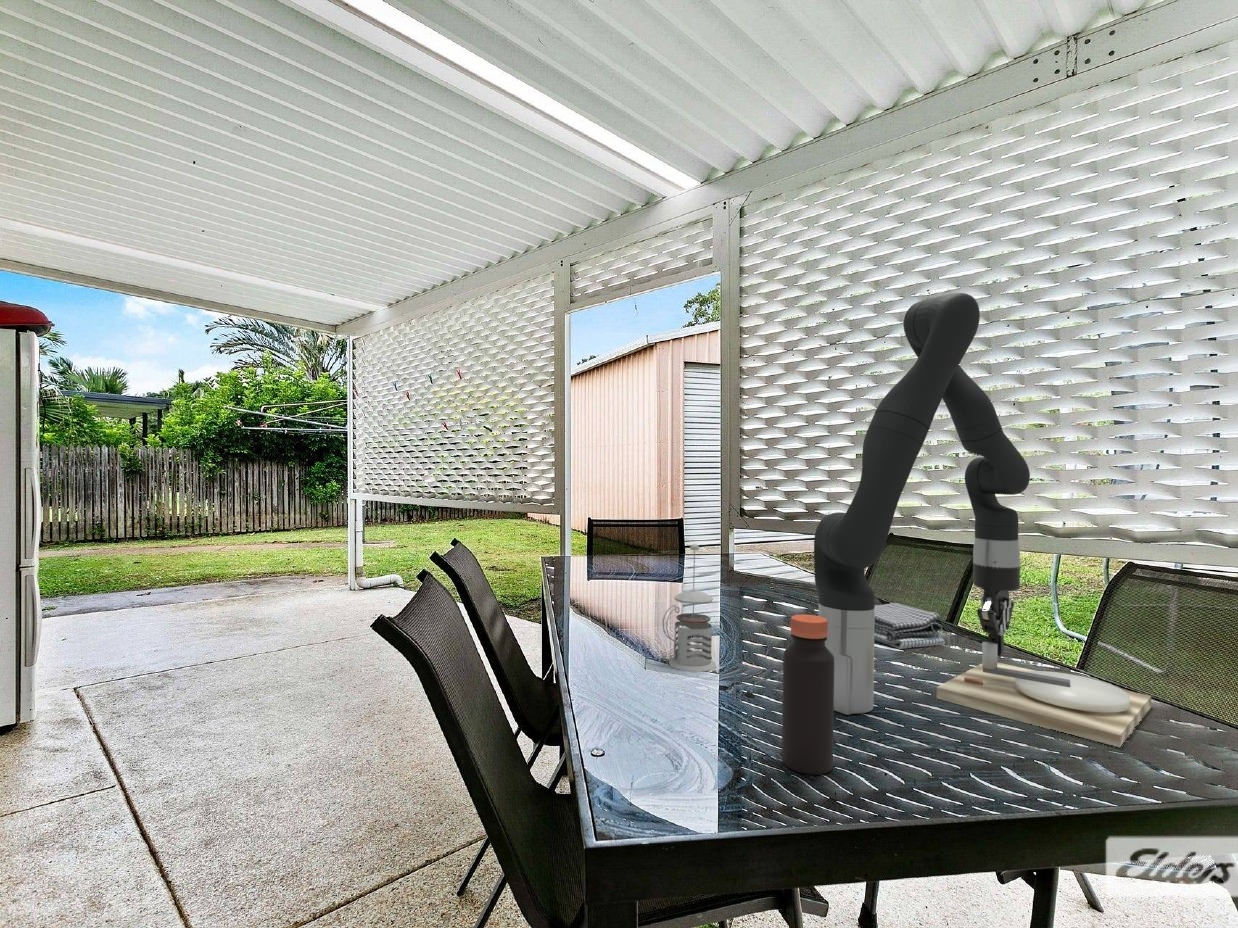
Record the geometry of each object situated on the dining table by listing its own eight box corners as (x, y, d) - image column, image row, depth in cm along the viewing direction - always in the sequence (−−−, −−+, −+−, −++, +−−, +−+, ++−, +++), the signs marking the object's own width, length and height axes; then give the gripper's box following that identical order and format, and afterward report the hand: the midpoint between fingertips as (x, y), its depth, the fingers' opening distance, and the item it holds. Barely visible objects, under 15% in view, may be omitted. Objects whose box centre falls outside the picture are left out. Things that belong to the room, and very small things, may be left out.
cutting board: (1119, 748, 91) (1119, 731, 91) (936, 698, 111) (936, 683, 111) (1151, 707, 108) (1151, 692, 108) (987, 669, 128) (987, 657, 128)
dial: (1151, 717, 97) (1151, 675, 97) (1003, 702, 102) (1004, 661, 102) (1101, 684, 112) (1101, 647, 112) (975, 672, 118) (976, 637, 118)
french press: (725, 668, 125) (727, 546, 126) (674, 674, 121) (676, 547, 121) (701, 655, 134) (703, 540, 135) (653, 660, 130) (655, 542, 131)
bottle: (772, 763, 85) (774, 617, 85) (797, 748, 89) (799, 610, 90) (817, 781, 80) (820, 627, 80) (841, 764, 84) (844, 619, 85)
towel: (890, 628, 163) (891, 598, 163) (947, 647, 146) (948, 614, 146) (843, 631, 158) (843, 601, 158) (896, 651, 141) (897, 617, 141)
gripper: (1007, 569, 109) (1006, 666, 109) (1029, 561, 117) (1029, 651, 118) (961, 563, 114) (961, 656, 114) (986, 556, 123) (986, 642, 123)
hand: (995, 654), depth 116 cm, fingers closed
